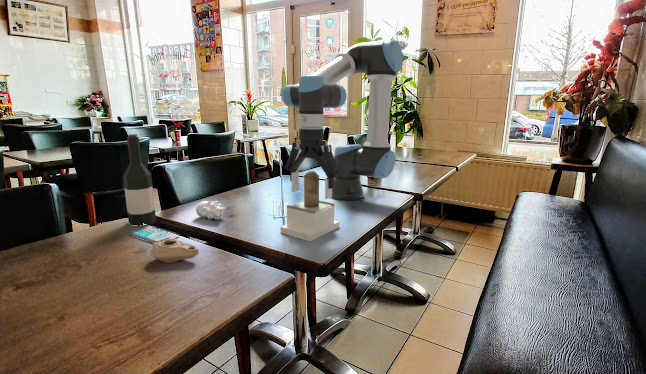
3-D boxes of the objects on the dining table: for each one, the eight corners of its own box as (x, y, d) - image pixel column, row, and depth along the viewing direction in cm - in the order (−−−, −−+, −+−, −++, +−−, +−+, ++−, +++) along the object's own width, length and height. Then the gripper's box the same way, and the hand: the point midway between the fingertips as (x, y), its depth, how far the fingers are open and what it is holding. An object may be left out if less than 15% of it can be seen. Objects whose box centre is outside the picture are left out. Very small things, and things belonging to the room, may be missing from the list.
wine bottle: (161, 220, 122) (152, 134, 115) (142, 227, 114) (131, 136, 107) (142, 217, 125) (133, 133, 118) (123, 224, 117) (111, 135, 110)
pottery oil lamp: (190, 268, 86) (173, 247, 83) (156, 274, 91) (139, 255, 88) (207, 244, 93) (192, 224, 90) (175, 251, 98) (160, 232, 95)
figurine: (209, 205, 131) (233, 208, 125) (201, 221, 128) (225, 225, 122) (197, 196, 125) (222, 198, 120) (188, 212, 122) (213, 216, 117)
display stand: (311, 219, 124) (311, 196, 122) (339, 227, 117) (339, 202, 115) (280, 232, 112) (280, 206, 110) (309, 241, 105) (310, 213, 103)
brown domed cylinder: (310, 202, 116) (310, 169, 113) (321, 205, 113) (322, 170, 111) (301, 205, 112) (300, 171, 110) (312, 208, 110) (312, 173, 107)
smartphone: (156, 243, 100) (126, 233, 108) (157, 246, 101) (126, 236, 108) (181, 234, 108) (151, 225, 115) (182, 237, 108) (152, 228, 115)
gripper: (273, 126, 111) (275, 190, 116) (338, 131, 97) (336, 204, 102) (288, 125, 117) (289, 186, 122) (352, 129, 103) (350, 198, 108)
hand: (311, 194), depth 112 cm, fingers open, 13 cm apart
